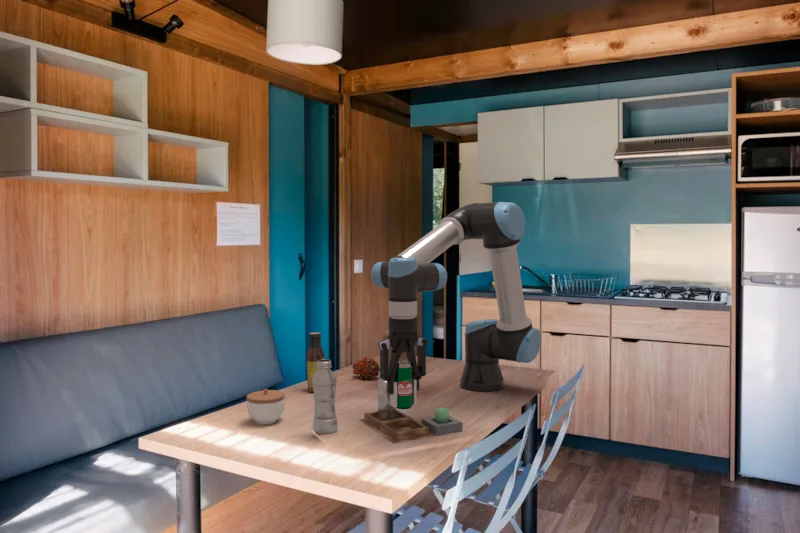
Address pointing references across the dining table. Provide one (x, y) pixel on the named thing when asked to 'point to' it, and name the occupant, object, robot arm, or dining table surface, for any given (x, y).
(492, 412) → the dining table surface
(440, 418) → the button
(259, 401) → the lidded jar
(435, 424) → the grey square holder
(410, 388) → the soda can
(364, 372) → the reddish brown bumpy oval
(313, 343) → the sauce bottle
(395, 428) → the tray
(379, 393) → the seated cylinder
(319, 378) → the plastic bottle
